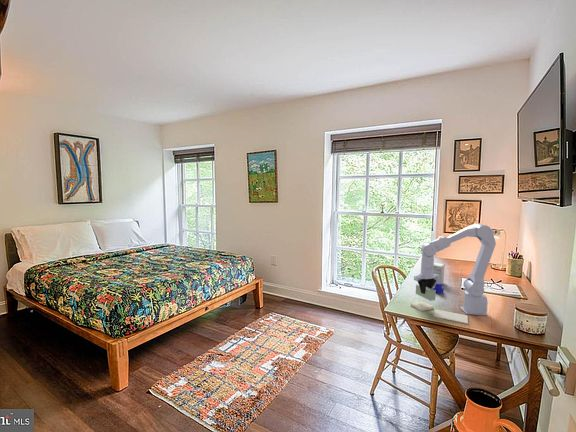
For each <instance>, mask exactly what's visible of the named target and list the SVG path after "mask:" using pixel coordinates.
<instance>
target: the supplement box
mask: <svg viewBox="0 0 576 432" xmlns="http://www.w3.org/2000/svg"><path fill="white" fill-rule="evenodd" d="M433 274H438V275H439V278H434V279H435V280H436V283H442V285H443V284H444V280H445V279H444V278H445V277H444V276H445V263H442V262H441V263H440V262H439V263H438V262H435V261H434V268H433ZM436 283H435V284H434V285H433V286H436Z"/></svg>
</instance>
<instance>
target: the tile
mask: <svg viewBox="0 0 576 432" xmlns="http://www.w3.org/2000/svg"><path fill="white" fill-rule="evenodd" d="M410 307H413V308H414V307H415V309H417V310H419V311H420V312H423V311H428V310H433V309H434V306H433V304H429V303H427V302H425V301H422V300H421V301H417V302H411V303H410Z"/></svg>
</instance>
